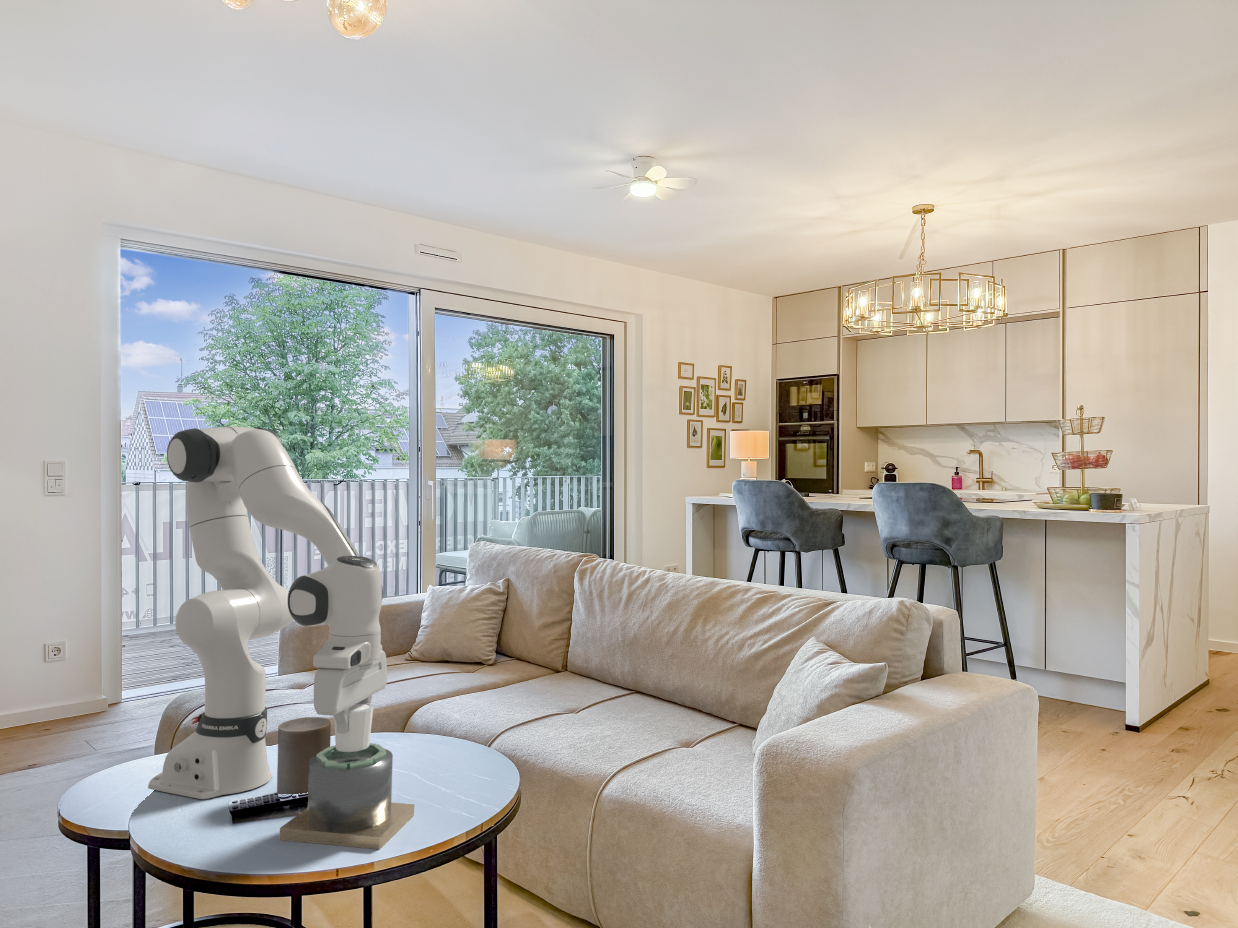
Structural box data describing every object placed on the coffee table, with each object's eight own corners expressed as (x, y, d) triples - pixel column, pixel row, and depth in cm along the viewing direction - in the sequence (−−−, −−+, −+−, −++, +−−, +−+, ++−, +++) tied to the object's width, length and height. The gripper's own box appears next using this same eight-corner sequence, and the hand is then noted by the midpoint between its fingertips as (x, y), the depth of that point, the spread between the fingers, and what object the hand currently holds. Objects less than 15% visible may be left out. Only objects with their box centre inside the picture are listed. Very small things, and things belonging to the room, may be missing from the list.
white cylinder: (359, 754, 136) (360, 713, 136) (323, 751, 137) (324, 710, 138) (380, 742, 143) (381, 703, 143) (345, 739, 144) (346, 700, 144)
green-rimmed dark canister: (279, 839, 134) (282, 762, 135) (322, 807, 148) (324, 736, 148) (379, 849, 131) (381, 769, 132) (414, 815, 145) (416, 743, 146)
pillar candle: (340, 788, 157) (341, 712, 158) (308, 806, 148) (310, 725, 149) (298, 783, 160) (299, 708, 161) (264, 801, 151) (266, 721, 151)
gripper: (365, 636, 151) (363, 709, 151) (307, 659, 131) (304, 743, 131) (396, 638, 150) (394, 711, 150) (342, 661, 130) (340, 746, 130)
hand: (352, 726), depth 140 cm, fingers closed on white cylinder, 5 cm apart
